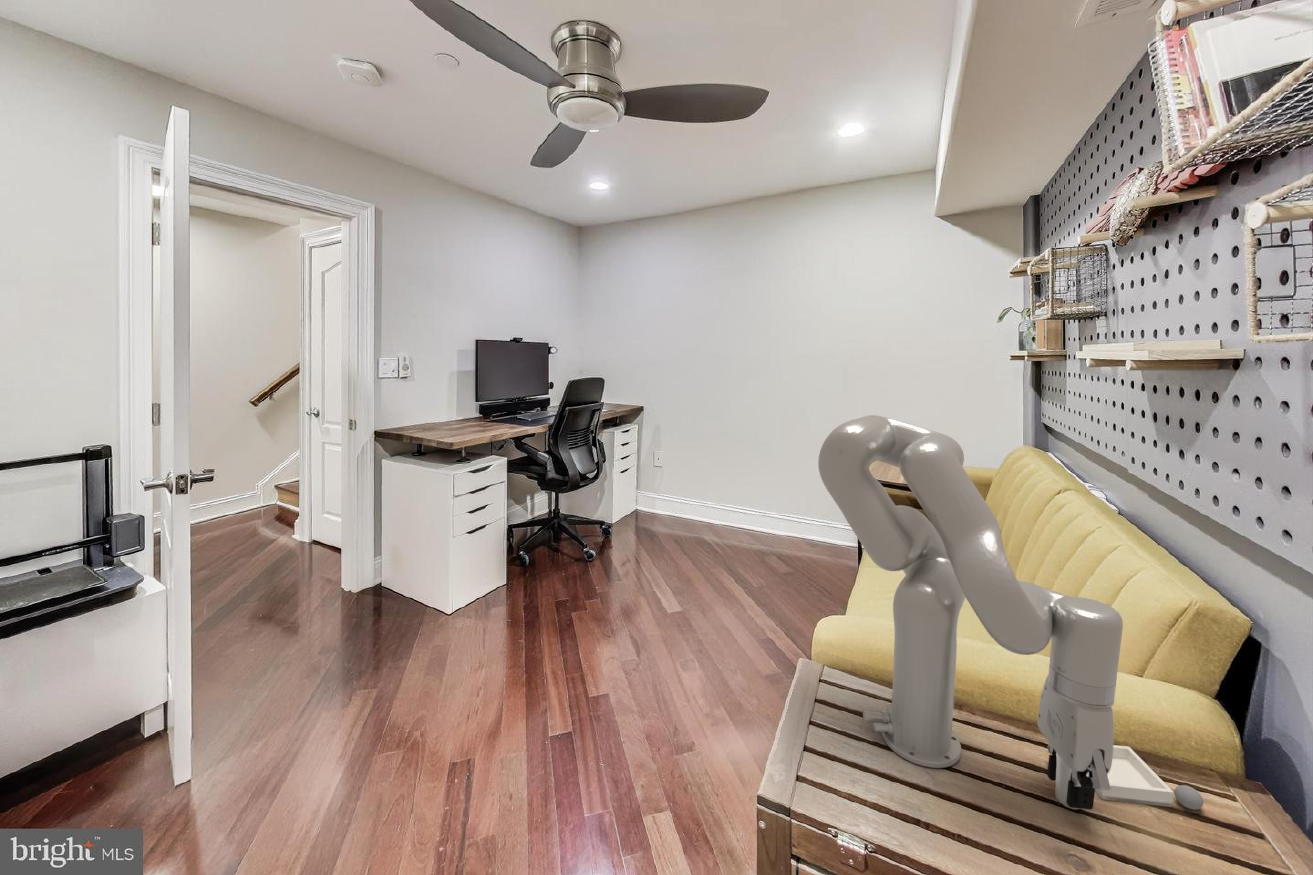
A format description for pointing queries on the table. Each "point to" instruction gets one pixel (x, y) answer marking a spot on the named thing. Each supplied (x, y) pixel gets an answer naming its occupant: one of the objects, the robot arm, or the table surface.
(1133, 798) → the tray
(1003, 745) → the table surface
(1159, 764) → the table surface
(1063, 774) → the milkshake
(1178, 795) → the ball
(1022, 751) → the table surface
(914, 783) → the table surface
